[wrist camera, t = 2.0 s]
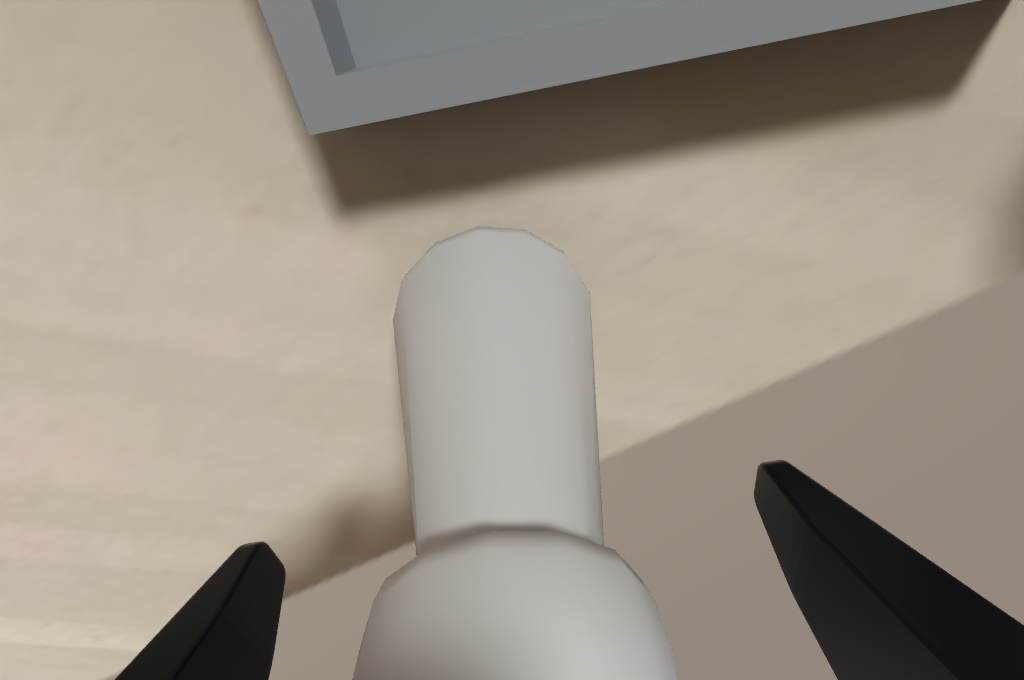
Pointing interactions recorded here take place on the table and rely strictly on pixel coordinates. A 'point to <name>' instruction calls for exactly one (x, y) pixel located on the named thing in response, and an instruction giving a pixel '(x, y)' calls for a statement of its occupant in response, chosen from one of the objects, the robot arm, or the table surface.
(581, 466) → the salt shaker
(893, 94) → the table surface
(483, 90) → the tray
